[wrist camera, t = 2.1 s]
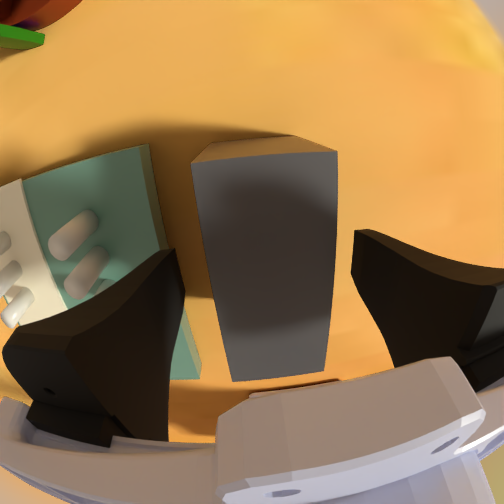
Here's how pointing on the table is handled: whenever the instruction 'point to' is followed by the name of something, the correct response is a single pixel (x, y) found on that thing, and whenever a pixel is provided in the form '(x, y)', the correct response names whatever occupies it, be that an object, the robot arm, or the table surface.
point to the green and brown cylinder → (29, 20)
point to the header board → (82, 239)
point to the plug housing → (270, 250)
